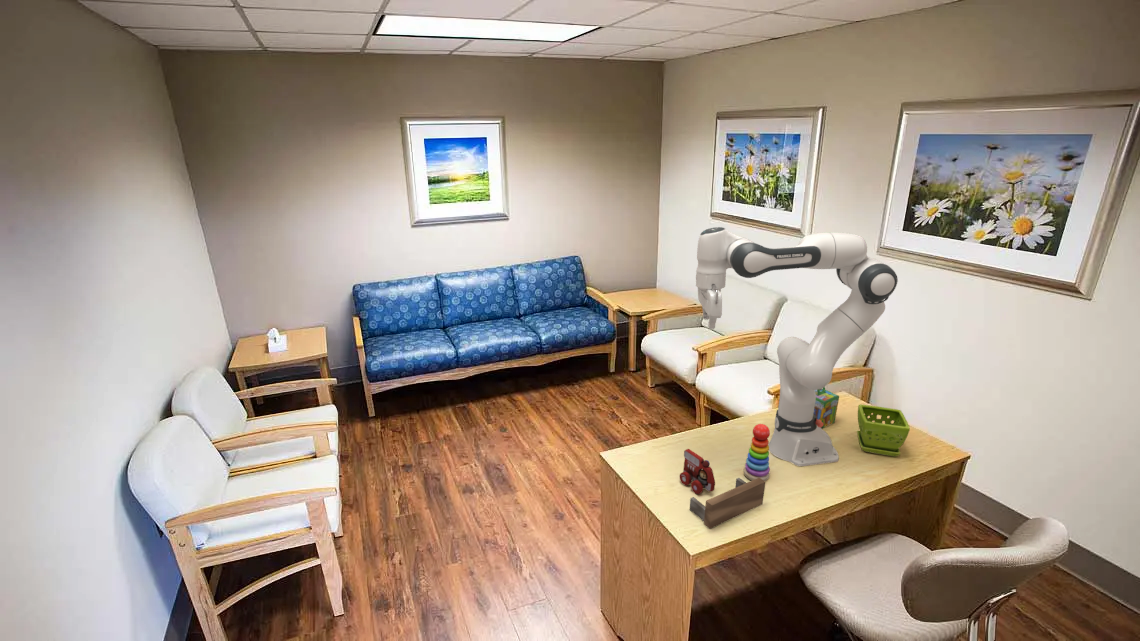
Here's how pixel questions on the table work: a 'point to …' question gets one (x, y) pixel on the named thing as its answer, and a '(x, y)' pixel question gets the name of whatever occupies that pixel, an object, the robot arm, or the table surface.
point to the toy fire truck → (697, 473)
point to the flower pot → (881, 430)
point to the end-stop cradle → (730, 502)
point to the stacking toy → (758, 454)
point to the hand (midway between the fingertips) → (708, 323)
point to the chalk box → (826, 406)
